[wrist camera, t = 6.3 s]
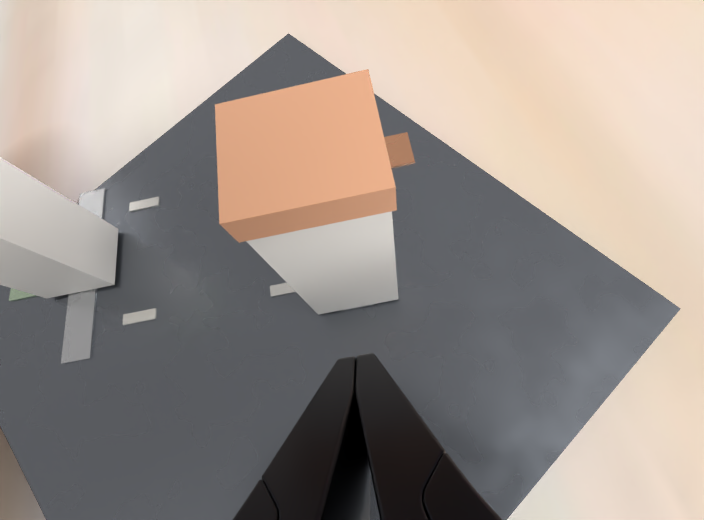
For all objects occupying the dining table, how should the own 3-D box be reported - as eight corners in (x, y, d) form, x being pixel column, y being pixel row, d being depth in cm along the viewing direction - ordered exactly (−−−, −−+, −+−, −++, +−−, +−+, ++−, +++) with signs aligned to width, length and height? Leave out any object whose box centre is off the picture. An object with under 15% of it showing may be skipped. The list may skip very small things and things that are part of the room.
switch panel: (672, 311, 16) (682, 308, 15) (226, 850, 12) (217, 873, 11) (287, 38, 24) (284, 29, 23) (-48, 309, 20) (-61, 306, 20)
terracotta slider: (401, 301, 16) (395, 187, 8) (316, 317, 17) (219, 223, 8) (386, 233, 18) (368, 69, 9) (307, 249, 18) (214, 104, 9)
